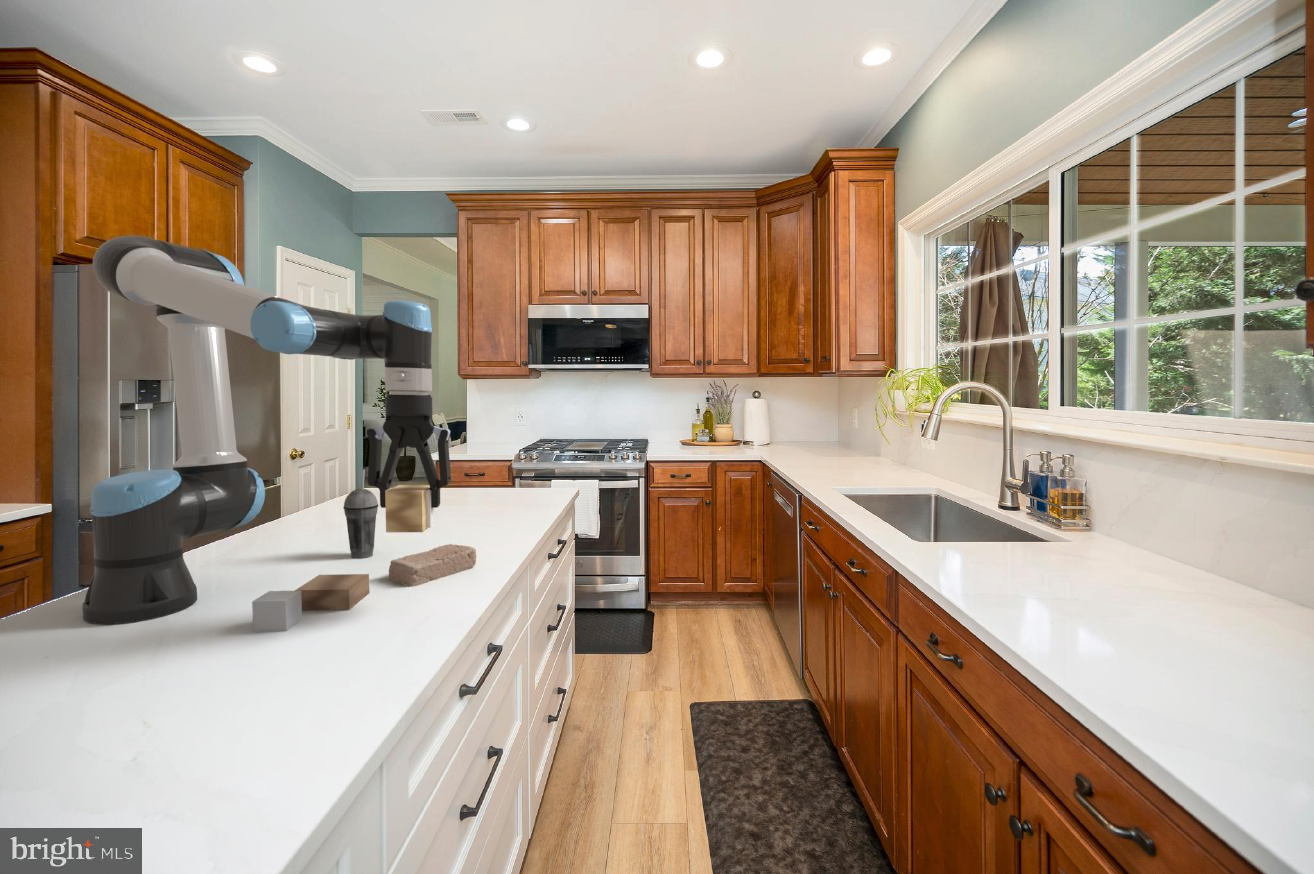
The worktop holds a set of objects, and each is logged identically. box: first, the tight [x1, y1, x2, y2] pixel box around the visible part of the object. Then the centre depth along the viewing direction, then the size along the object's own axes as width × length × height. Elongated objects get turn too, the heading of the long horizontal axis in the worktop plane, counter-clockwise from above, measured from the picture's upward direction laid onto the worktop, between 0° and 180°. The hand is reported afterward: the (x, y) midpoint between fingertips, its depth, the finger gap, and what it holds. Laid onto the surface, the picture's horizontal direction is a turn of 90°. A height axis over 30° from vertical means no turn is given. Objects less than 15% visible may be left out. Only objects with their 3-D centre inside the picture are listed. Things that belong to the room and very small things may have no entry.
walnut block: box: [294, 573, 370, 612], centre depth 110 cm, size 9×9×4 cm
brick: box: [388, 543, 477, 587], centre depth 127 cm, size 16×8×5 cm, turn 149°
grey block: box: [251, 590, 303, 633], centre depth 98 cm, size 5×5×5 cm
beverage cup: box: [343, 469, 379, 559], centre depth 139 cm, size 7×7×20 cm
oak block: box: [385, 484, 430, 533], centre depth 106 cm, size 6×7×7 cm
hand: (410, 525), depth 106 cm, fingers closed on oak block, 6 cm apart
